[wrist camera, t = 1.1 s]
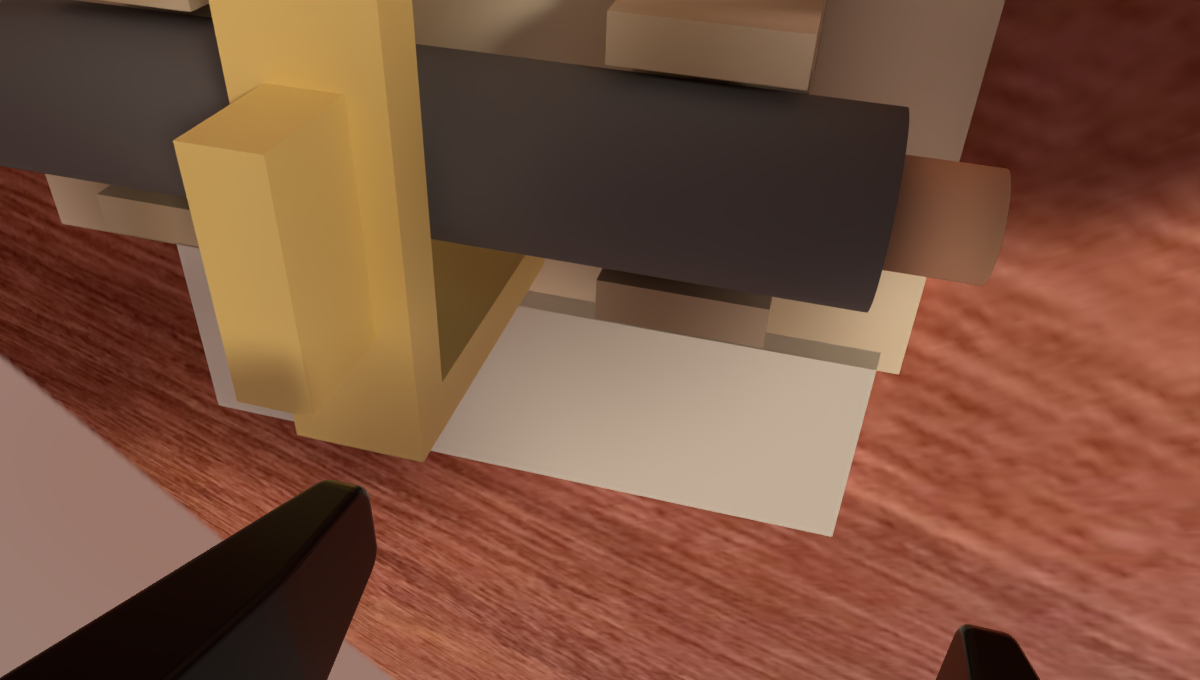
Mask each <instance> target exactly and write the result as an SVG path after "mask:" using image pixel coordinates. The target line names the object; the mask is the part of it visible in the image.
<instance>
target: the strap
mask: <svg viewBox="0 0 1200 680" xmlns="http://www.w3.org/2000/svg"><path fill="white" fill-rule="evenodd" d="M209 5H210V10H211V15H212V20H213V25H214V30H215V34H216V39H217V44H218V49H219V54H220V59H221V64H222V69H223V74H224V79H225V84H226V88H227V93H228V98H229V103H230V105H228V106H227V107H225V108H224V109H222V110H220V111H219V112H217V113H216V114H214V115H213V116H211V117H209V118H208V119H206V120H205V121H203V122H202V123H200V124H198V125H197V126H195V127H194V128H192V129H191V130H189V131H187V132H186V133H184V134H183V135H181V136H180V137H178V138H176V139H175V140H173V143H174V147H175V152H176V156H177V160H178V164H179V168H180V172H181V176H182V180H183V184H184V188H185V192H186V196H187V200H188V204H189V208H190V212H191V216H192V220H193V225H194V229H195V233H196V237H197V241H198V245H199V249H200V253H201V257H202V261H203V265H204V269H205V273H206V277H207V281H208V285H209V289H210V293H211V297H212V302H213V306H214V310H215V314H216V318H217V322H218V326H219V330H220V334H221V338H222V342H223V346H224V350H225V354H226V358H227V362H228V366H229V370H230V375H231V379H232V383H233V387H234V391H235V395H236V399H237V402H241V403H246V404H251V405H255V406H260V407H265V408H269V409H274V410H279V411H284V412H288V413H293V418H294V423H295V427H296V432H297V435H299V436H303V437H308V438H313V439H317V440H322V441H326V442H331V443H336V444H340V445H345V446H349V447H354V448H359V449H363V450H368V451H373V452H377V453H382V454H386V455H391V456H396V457H400V458H405V459H409V460H414V461H419V462H424V461H425V459H426V457H427V456H428V454H429V452H430V451H431V449H432V447H433V446H434V444H435V443H436V441H437V439H438V438H439V436H440V434H441V433H442V431H443V429H444V428H445V426H446V425H447V423H448V421H449V420H450V418H451V416H452V415H453V413H454V411H455V410H456V408H457V406H458V405H459V403H460V402H461V400H462V398H463V397H464V395H465V393H466V392H467V390H468V388H469V387H470V385H471V383H472V382H473V380H474V379H475V377H476V375H477V374H478V372H479V370H480V369H481V367H482V365H483V364H484V362H485V360H486V359H487V357H488V356H489V354H490V352H491V351H492V349H493V347H494V346H495V344H496V342H497V341H498V339H499V338H500V336H501V334H502V333H503V331H504V329H505V328H506V326H507V324H508V323H509V321H510V319H511V318H512V316H513V315H514V313H515V311H516V310H517V308H518V306H519V305H520V303H521V301H522V300H523V298H524V296H525V295H526V293H527V292H528V290H529V288H530V287H531V285H532V283H533V282H534V280H535V278H536V277H537V275H538V273H539V272H540V270H541V269H542V267H543V265H544V258H540V257H534V256H528V255H523V254H517V253H511V252H505V251H499V250H493V249H487V248H481V247H475V246H469V245H463V244H458V243H452V242H446V241H440V240H434V239H431V234H430V221H429V209H428V196H427V183H426V171H425V158H424V145H423V133H422V120H421V107H420V95H419V82H418V69H417V57H416V44H415V31H414V19H413V6H412V0H209Z"/></svg>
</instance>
